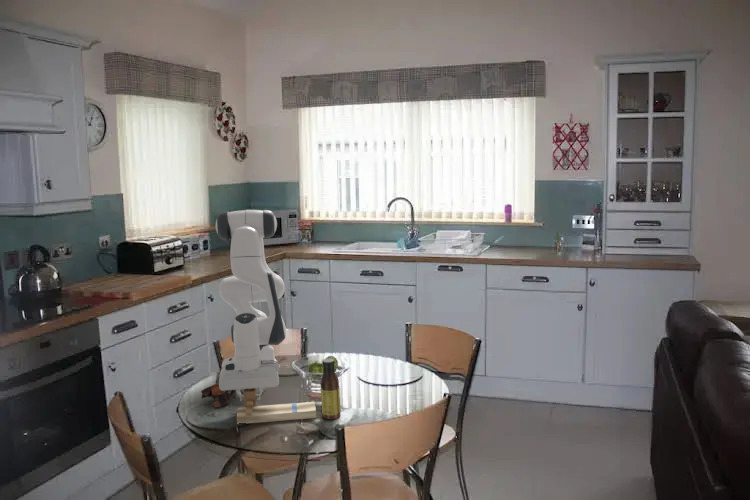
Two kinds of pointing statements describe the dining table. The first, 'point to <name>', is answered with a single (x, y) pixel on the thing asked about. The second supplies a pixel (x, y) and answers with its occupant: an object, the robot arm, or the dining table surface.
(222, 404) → the rusty valve
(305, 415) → the board
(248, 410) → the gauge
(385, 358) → the dining table surface
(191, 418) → the dining table surface
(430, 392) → the dining table surface
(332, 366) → the sauce bottle
